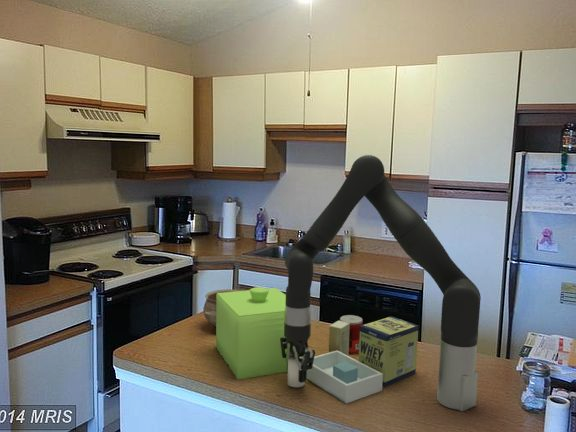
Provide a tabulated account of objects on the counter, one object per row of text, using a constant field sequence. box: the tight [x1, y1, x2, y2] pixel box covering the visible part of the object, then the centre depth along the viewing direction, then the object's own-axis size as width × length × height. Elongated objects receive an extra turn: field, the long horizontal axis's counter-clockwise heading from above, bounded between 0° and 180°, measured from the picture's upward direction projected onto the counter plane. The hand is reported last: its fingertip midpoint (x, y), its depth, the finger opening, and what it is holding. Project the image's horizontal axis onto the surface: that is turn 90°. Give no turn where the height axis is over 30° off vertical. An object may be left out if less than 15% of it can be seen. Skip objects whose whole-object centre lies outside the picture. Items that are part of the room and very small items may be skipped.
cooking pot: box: [202, 288, 243, 327], centre depth 186 cm, size 25×19×12 cm
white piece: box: [287, 357, 306, 388], centre depth 140 cm, size 5×5×7 cm
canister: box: [215, 286, 304, 381], centre depth 158 cm, size 25×21×23 cm
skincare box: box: [328, 320, 350, 357], centre depth 158 cm, size 6×4×12 cm
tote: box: [306, 350, 383, 404], centre depth 143 cm, size 20×14×5 cm
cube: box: [333, 362, 358, 384], centre depth 141 cm, size 5×5×5 cm
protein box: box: [358, 315, 419, 388], centre depth 149 cm, size 10×16×16 cm
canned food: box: [339, 314, 364, 355], centre depth 167 cm, size 8×8×11 cm
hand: (296, 377), depth 140 cm, fingers closed on white piece, 5 cm apart
